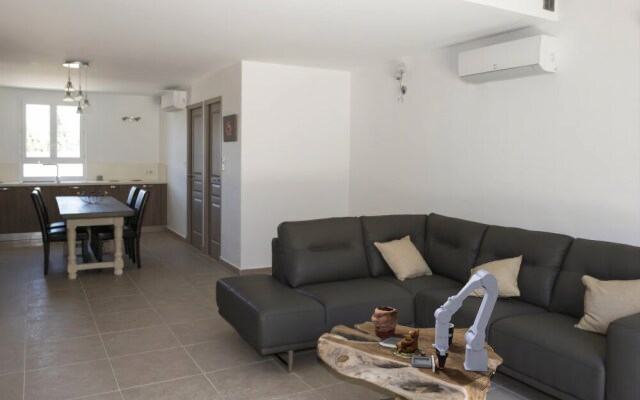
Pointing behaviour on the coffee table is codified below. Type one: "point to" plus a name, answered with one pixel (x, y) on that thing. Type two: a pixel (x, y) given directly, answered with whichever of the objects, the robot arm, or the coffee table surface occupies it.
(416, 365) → the dish
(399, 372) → the coffee table surface
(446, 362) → the ball
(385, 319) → the decorative planter
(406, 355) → the bear figurine
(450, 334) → the mug
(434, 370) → the acrylic wall
